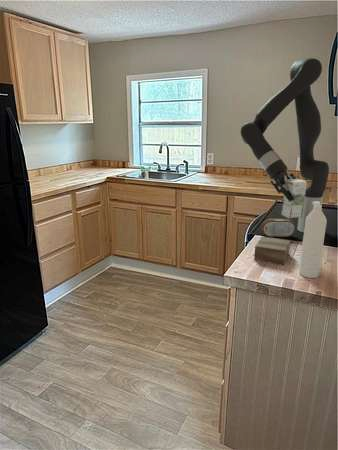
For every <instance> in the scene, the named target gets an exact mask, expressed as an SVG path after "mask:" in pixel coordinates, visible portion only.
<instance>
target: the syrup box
mask: <svg viewBox="0 0 338 450" xmlns="http://www.w3.org/2000/svg"><path fill="white" fill-rule="evenodd" d="M307 182H308V181H306V180H305V179H301V178H297V179H287V183H288V186H287V187H288V191H290V193H291V194H292V195H293V197H294V199H293V200H292V201H288V199H287V198H286V196H285V195H284V194H282V204H281V211H280V212H281V213H280V215H281V216H283V217H285V218H286V219H296V218H297V219H299V217H302V212H303V205H304V198H305V191H306V187H307V185H308V183H307Z"/></svg>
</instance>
